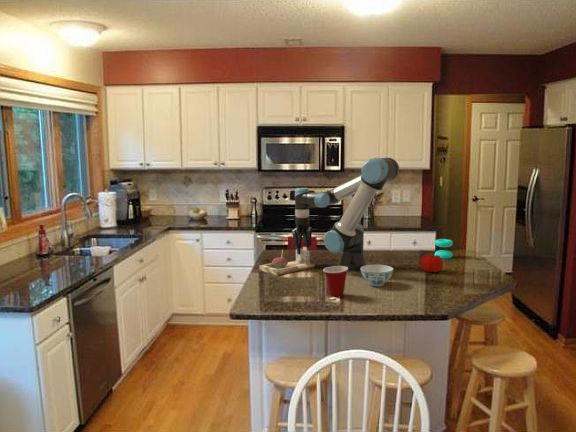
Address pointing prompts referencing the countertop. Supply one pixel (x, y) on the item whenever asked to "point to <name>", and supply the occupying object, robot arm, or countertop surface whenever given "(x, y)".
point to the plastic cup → (336, 279)
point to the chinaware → (376, 274)
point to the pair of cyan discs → (443, 253)
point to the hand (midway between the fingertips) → (302, 259)
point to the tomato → (431, 263)
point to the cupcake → (279, 262)
